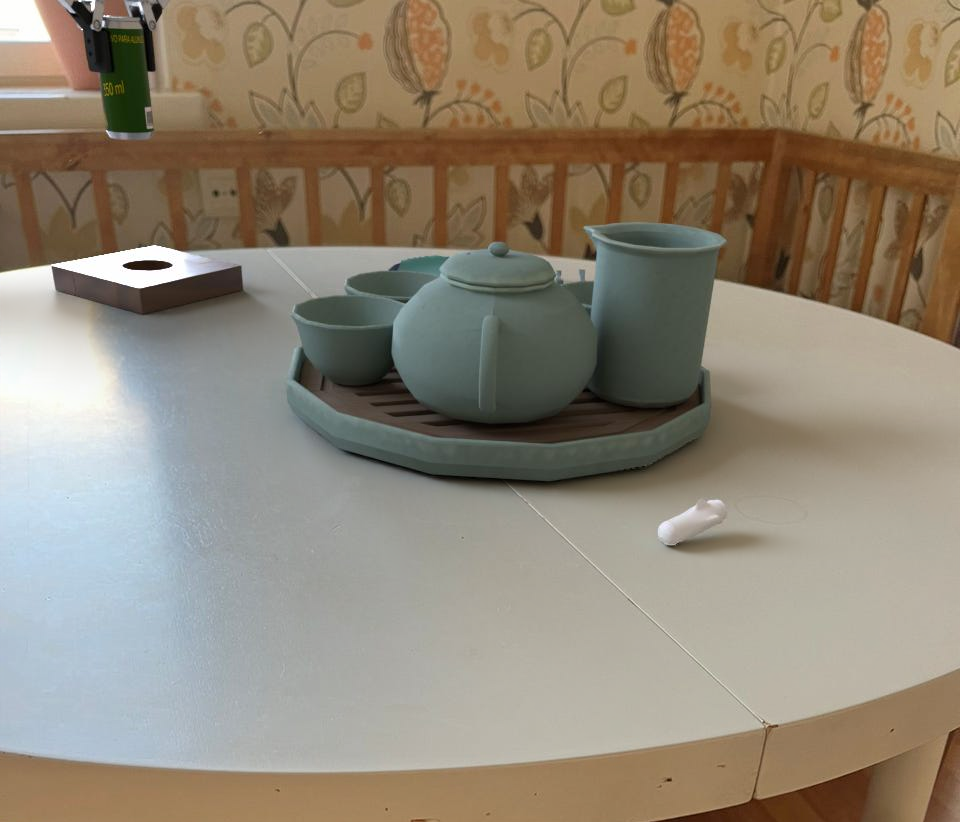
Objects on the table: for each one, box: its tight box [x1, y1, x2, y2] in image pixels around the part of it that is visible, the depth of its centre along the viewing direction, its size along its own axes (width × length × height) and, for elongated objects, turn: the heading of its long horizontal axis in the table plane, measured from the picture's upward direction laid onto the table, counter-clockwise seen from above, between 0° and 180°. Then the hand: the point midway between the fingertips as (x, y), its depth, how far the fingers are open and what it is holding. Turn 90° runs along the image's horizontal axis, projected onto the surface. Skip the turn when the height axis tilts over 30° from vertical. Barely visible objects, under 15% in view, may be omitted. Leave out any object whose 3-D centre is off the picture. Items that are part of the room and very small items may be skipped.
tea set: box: [285, 221, 728, 482], centre depth 96 cm, size 40×40×16 cm
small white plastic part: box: [654, 498, 728, 545], centre depth 76 cm, size 4×6×3 cm, turn 97°
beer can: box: [97, 15, 155, 141], centre depth 118 cm, size 5×5×12 cm
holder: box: [50, 245, 244, 315], centre depth 130 cm, size 16×16×3 cm
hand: (122, 69), depth 117 cm, fingers closed on beer can, 5 cm apart
